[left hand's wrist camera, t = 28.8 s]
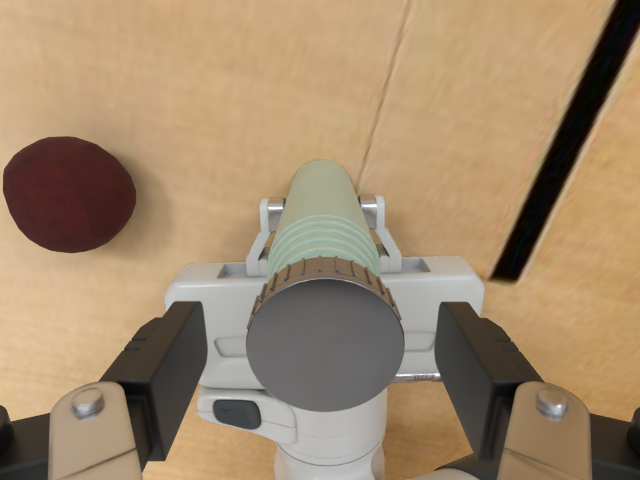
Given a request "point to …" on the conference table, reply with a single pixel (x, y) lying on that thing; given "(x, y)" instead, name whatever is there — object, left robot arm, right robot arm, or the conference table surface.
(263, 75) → the conference table surface
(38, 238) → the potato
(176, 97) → the conference table surface
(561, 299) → the conference table surface
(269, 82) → the conference table surface
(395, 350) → the cap
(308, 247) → the bottle
